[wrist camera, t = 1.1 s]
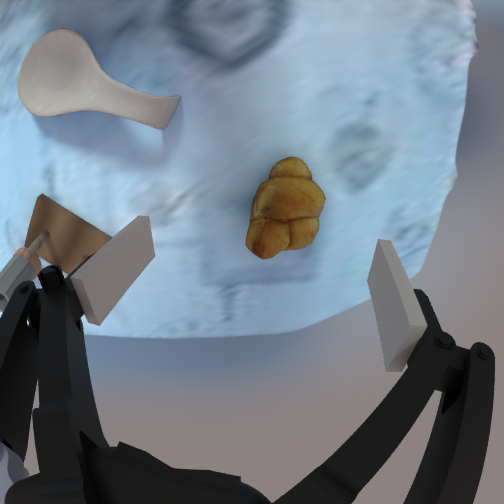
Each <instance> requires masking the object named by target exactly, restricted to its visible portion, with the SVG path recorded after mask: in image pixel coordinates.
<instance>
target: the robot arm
mask: <svg viewBox="0 0 504 504" xmlns="http://www.w3.org/2000/svg"><path fill="white" fill-rule="evenodd" d="M154 257H155V252H154V246H153V239H152V233H151V226H150V219H149V216H138V217H136V218H135V219H134V220H133V221H132V222H130V223H129V224H128V225H127V226H126V227H125V228H123V229H122V230H121V231H120V232H119V233H118V234H116V235H115V236H114V237H113V238H112V239H111V240H110V241H108V242H107V243H106V244H105V245H104V246H103V247H102V248H101V249H99V250H98V251H97V252H96V253H94V254H92V255H90V256H88V257H87V258H86V259H85V260H84V261H83V263H81V264H80V265H79V266H78V267H77V268H76V269H74V270H73V271H72V272H71V273H70V274H69V275H68V276H67V277H66V278H64V276H63V273H62V270H61V267H60V266H59V265H50V266H47V267H45V268H43V269H42V270H41V271H40V272H39V273H38V278H39V281H40V283H41V286H42V288H43V289H36V287H35V284H34V282H33V281H30V280H28V281H23V282H21V283H20V284H19V285H18V286H17V287H16V288H15V290H14V292H13V294H12V296H11V298H10V299H9V301H8V303H7V305H6V307H5V310H4V312H3V314H2V316H1V318H0V502H1V503H2V504H351V503H352V502H353V501H354V500H355V499H356V497H357V495H358V493H359V492H360V491H361V490H362V489H363V487H364V486H365V485H366V484H367V483H368V482H369V481H370V480H371V479H372V477H373V476H374V475H375V474H376V473H377V472H378V470H379V469H380V468H381V467H382V466H383V464H384V463H385V462H386V461H387V460H388V458H389V457H390V456H391V454H392V453H393V452H394V451H395V449H396V448H397V447H398V445H399V444H400V443H401V441H402V440H403V438H404V437H405V436H406V434H407V433H408V431H409V430H410V429H411V427H412V426H413V424H414V423H415V421H416V420H417V418H418V417H419V415H420V413H421V412H422V410H423V409H424V407H425V406H426V404H427V402H428V400H429V399H430V397H431V396H432V394H433V392H434V390H438V391H441V392H442V395H441V399H440V403H439V407H438V411H437V415H436V418H435V422H434V425H433V429H432V432H431V435H430V439H429V442H428V445H427V447H426V450H425V453H424V456H423V459H422V461H421V464H420V467H419V469H418V472H417V474H416V477H415V479H414V481H413V484H412V486H411V488H410V491H409V493H408V495H407V497H406V499H405V501H404V503H403V504H473V502H474V499H475V495H476V492H477V489H478V485H479V482H480V478H481V474H482V470H483V465H484V461H485V456H486V451H487V446H488V440H489V434H490V427H491V419H492V410H493V399H494V381H495V356H494V353H493V351H492V349H491V348H490V347H489V346H488V345H486V344H484V343H481V342H477V343H475V344H473V345H472V347H471V348H470V350H469V349H466V348H462V347H459V346H456V343H455V340H454V339H453V337H452V336H451V335H449V334H448V333H446V332H444V331H442V329H441V327H440V324H439V322H438V319H437V317H436V315H435V312H433V311H434V310H433V308H432V306H431V303H430V301H429V298H428V296H426V294H425V293H424V292H423V291H422V290H419V289H413V288H412V286H411V283H410V281H409V279H408V276H407V274H406V272H405V270H404V267H403V265H402V263H401V261H400V259H399V257H398V255H397V252H396V250H395V248H394V246H393V244H392V242H391V241H390V240H382V239H378V241H377V245H376V249H375V253H374V257H373V261H372V265H371V268H370V272H369V276H368V279H367V282H368V286H369V290H370V294H371V299H372V302H373V307H374V312H375V316H376V321H377V326H378V330H379V336H380V341H381V346H382V352H383V358H384V364H385V370H386V371H390V372H391V371H392V372H393V371H395V372H401V371H402V370H403V368H404V366H405V365H406V363H407V365H408V368H407V369H406V371H405V372H404V374H403V375H402V376H401V378H400V379H399V380H398V382H397V383H396V384H395V386H394V387H393V388H392V390H391V391H390V392H389V393H388V394H387V396H386V397H385V398H384V399H383V401H382V402H381V403H380V404H379V405H378V407H377V408H376V409H375V410H374V412H373V413H372V414H371V415H370V416H369V417H368V418H367V419H366V420H365V422H364V423H363V424H362V425H361V426H360V427H359V428H358V429H357V430H356V431H355V432H354V433H353V435H352V436H351V437H350V438H349V439H348V440H347V441H346V442H345V443H344V444H343V445H342V446H341V447H340V448H339V449H338V450H337V451H336V452H335V453H334V454H333V455H332V456H330V457H329V458H328V459H327V460H326V461H325V462H324V463H323V464H322V465H320V466H319V467H317V468H316V469H315V470H314V471H313V472H311V473H310V474H309V475H308V476H307V477H305V478H304V479H303V480H302V481H301V482H299V483H298V484H297V485H296V486H294V487H293V488H292V489H291V490H289V491H288V492H287V493H285V494H284V495H283V496H281V497H280V498H279V499H277V500H276V501H275V502H273V503H271V502H270V501H269V500H268V499H267V498H266V497H265V496H264V495H263V494H262V493H260V492H259V491H258V490H256V489H255V488H253V487H251V486H249V485H247V484H245V483H242V482H241V477H240V476H235V475H229V474H225V473H220V472H215V471H211V470H192V469H191V470H190V469H175V468H172V467H170V466H168V465H167V464H165V463H163V462H162V461H160V460H158V459H157V458H155V457H153V456H152V455H151V454H149V453H147V452H146V451H143V450H141V449H138V448H135V447H132V446H130V445H128V444H125V443H122V442H119V444H118V446H117V447H110V446H109V445H108V443H107V441H106V439H105V438H104V435H103V432H102V428H101V425H100V421H99V417H98V413H97V408H96V404H95V399H94V395H93V390H92V385H91V379H90V374H89V368H88V362H87V355H86V348H85V340H84V331H83V323H82V320H81V317H82V316H83V314H85V316H86V319H87V321H88V323H91V324H95V325H98V326H100V325H101V323H102V322H103V321H104V319H105V318H106V317H107V315H108V314H109V313H110V311H111V310H112V309H113V308H114V306H115V305H116V304H117V302H118V301H119V300H120V299H121V297H122V296H123V295H124V294H125V292H126V291H127V290H128V288H129V287H130V286H131V285H132V284H133V282H134V281H135V280H136V279H137V277H138V276H139V275H140V274H141V272H142V271H143V270H144V269H145V268H146V266H147V265H148V264H149V263H150V262H151V260H152V259H153V258H154ZM27 320H28V322H29V325H27ZM37 381H38V386H39V403H40V404H39V408H35V409H34V410H33V413H32V408H33V402H34V396H35V391H36V386H37ZM31 414H32V417H33V430H34V439H35V446H36V453H37V459H38V465H39V470H40V473H38V474H35V475H33V476H30V477H29V472H28V470H27V469H26V468H24V464H23V463H24V460H25V456H26V451H27V446H28V438H29V430H30V422H31Z"/></svg>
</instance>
